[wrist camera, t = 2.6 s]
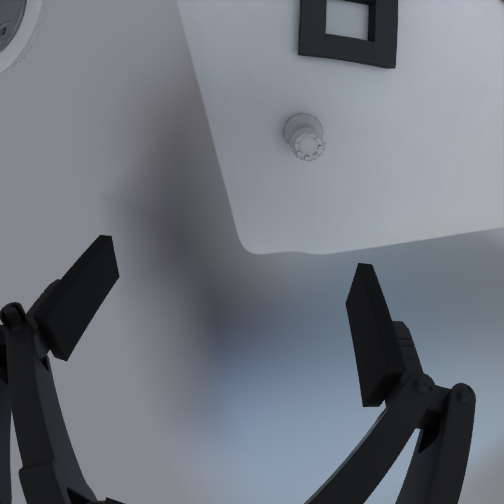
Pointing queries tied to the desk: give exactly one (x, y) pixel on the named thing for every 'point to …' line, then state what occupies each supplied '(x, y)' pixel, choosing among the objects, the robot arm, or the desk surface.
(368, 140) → the desk surface
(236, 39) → the desk surface
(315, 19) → the socket pad
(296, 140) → the rook chess piece
